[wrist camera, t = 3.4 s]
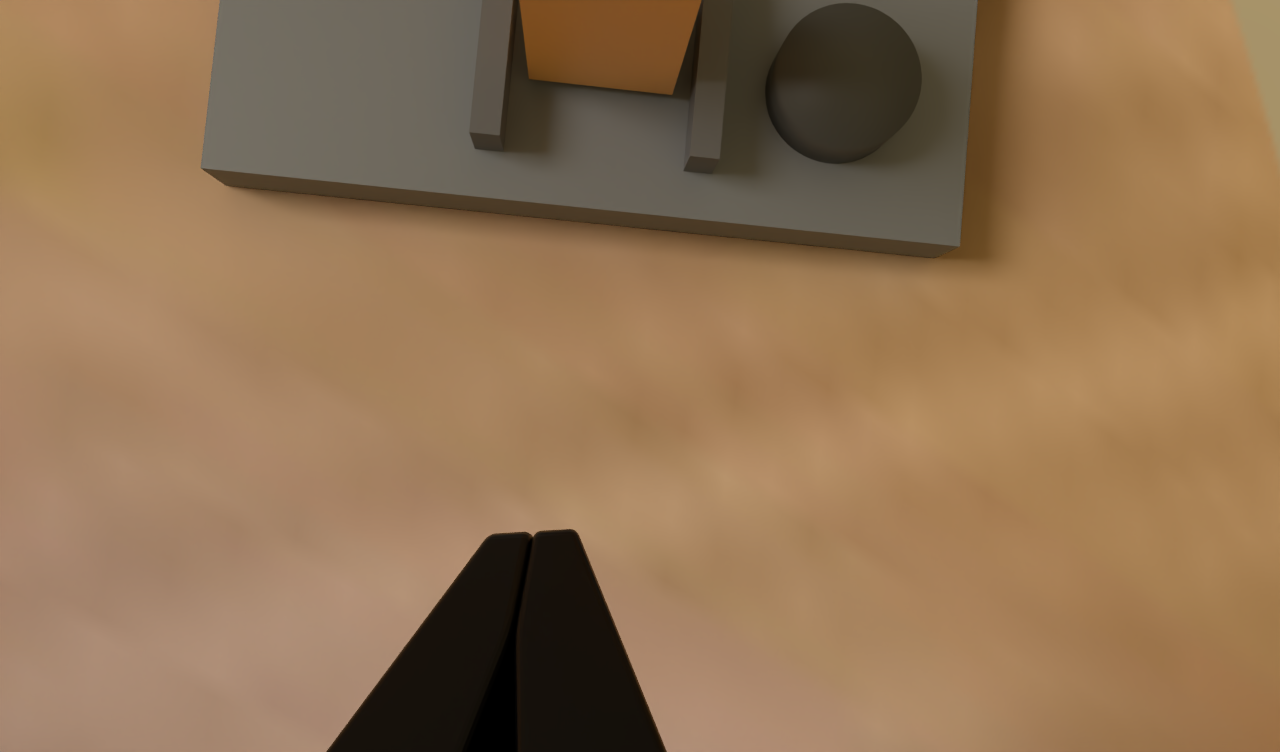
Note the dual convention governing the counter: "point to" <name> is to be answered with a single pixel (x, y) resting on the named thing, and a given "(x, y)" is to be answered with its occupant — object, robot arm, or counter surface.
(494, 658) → the robot arm
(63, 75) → the counter surface
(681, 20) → the orange rectangular block
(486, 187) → the switch panel
